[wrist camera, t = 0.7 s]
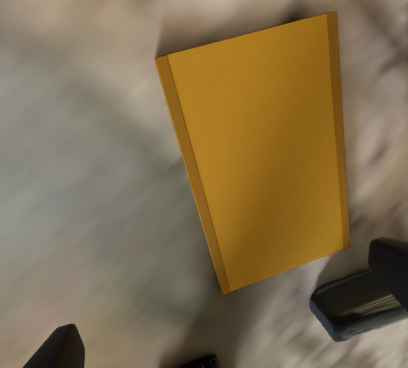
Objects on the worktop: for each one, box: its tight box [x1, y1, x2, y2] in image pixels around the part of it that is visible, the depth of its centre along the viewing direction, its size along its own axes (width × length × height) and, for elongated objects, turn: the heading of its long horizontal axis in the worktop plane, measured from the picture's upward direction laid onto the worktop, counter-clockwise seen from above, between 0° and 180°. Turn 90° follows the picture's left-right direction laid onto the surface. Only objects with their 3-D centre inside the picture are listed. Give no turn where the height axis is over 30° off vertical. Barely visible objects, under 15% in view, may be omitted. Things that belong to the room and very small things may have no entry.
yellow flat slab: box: [154, 11, 350, 295], centre depth 22 cm, size 20×13×1 cm, turn 15°
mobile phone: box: [310, 270, 408, 342], centre depth 27 cm, size 5×3×15 cm
